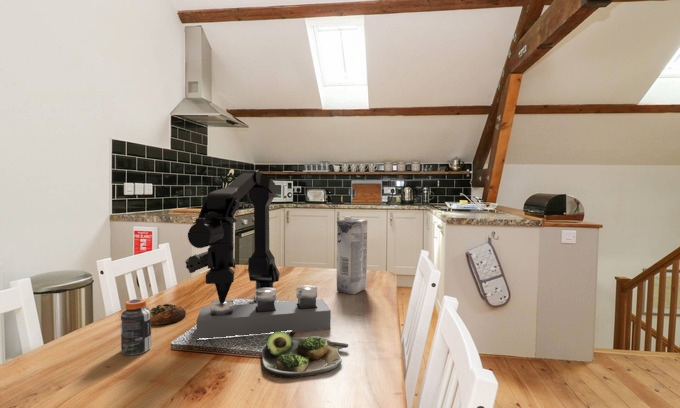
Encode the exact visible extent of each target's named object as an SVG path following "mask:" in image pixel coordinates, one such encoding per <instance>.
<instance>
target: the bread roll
mask: <svg viewBox="0 0 680 408" xmlns="http://www.w3.org/2000/svg"><path fill="white" fill-rule="evenodd" d="M150 311H151V326H154V325H156V326H163V325H167V324H174V323H177V322H180V321H181V320H183V319H185V318H186V316H187V315H186V313H187V311H186V310H185V309H184V308H183V307H182V306H181V305H180V306H178V305H176V304H171V303H164V304H158V305H156V306H154V307H152V308H151V309H150Z"/></svg>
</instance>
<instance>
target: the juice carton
mask: <svg viewBox="0 0 680 408" xmlns="http://www.w3.org/2000/svg"><path fill="white" fill-rule="evenodd" d="M336 235H337V236H336V291H337V292H339V293H343V294H344V293H345V294H349V295H356V294H358V293H359V292H362V291H364V290H366V288H367V287H366V286H367V273H368V272H367V269H368V268H367V263H368V262H367V261H368V259H367V257H368V256H367V255H368V219H360V218H352V215H346V216H343V220H342V219H341V220H337V221H336Z"/></svg>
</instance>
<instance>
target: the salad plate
mask: <svg viewBox="0 0 680 408" xmlns="http://www.w3.org/2000/svg"><path fill="white" fill-rule="evenodd" d="M348 347H349V344H348V343H344V342H338V341H331V340H330V339H328V338H325V337H322V336H316V335H315V336H306V337H305V336H304V337H293V336H291V335H290V334H289V333H285V332H281V331H278V332H274V333H273V334H270V335H269V336H268V338H267V340H266V343H265V344H264V345H263V347H262V349H261V360H262V361H261V366H262V370H264V372H265V373H266V374H268V375H270V376H272V377H275V378H279V379H280V378H281V379H282V378H284V379H285V378H286V379H295V378H299V377H300V378H301V377H305V376H307V377H308V376H312V375H313V376H314V375H318V374H322V373H326V372H329V371H331V370H333V369H335V368H337V367H339V365H340V364H342V362H343V361H342V360H343V359H342V357H341V355H340V353H339V350H343V349H346V348H348ZM319 361H323V362H325V363H326V364H325V366H323V367H321V368H318V369H313V370H307V371H306V369H307V368H308V365H309V364H311V363H313V362H319Z"/></svg>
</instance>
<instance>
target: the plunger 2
mask: <svg viewBox="0 0 680 408" xmlns="http://www.w3.org/2000/svg"><path fill="white" fill-rule="evenodd" d="M317 298H318V286H315V285H311V284H304V285H299V286H296V299H297V301H298V308H299V309H312V308H316V299H317Z"/></svg>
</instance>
